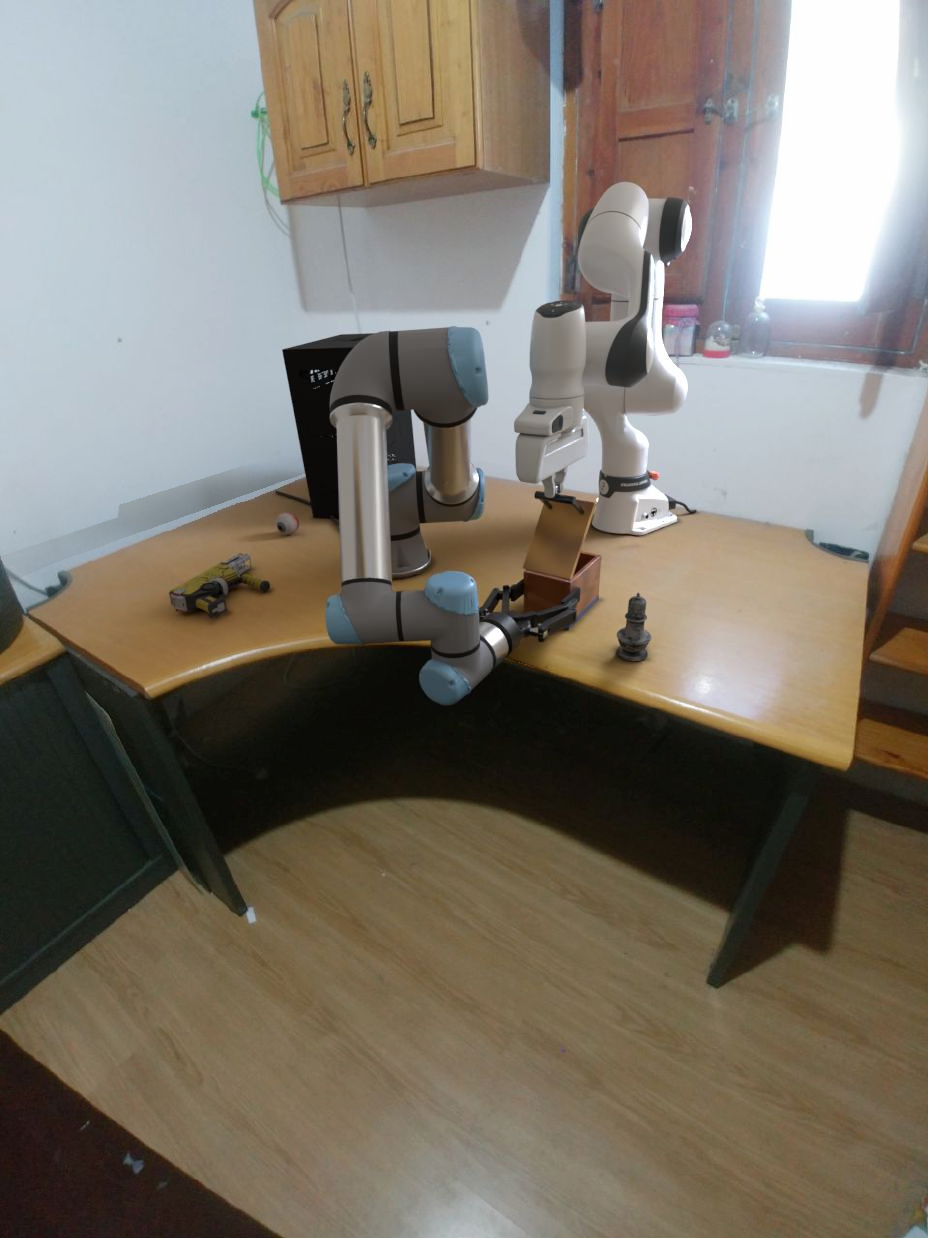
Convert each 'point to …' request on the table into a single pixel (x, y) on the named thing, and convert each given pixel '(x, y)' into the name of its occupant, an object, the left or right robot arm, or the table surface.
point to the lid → (559, 535)
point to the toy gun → (214, 587)
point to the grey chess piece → (634, 631)
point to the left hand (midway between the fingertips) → (553, 587)
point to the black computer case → (315, 418)
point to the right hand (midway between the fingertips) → (553, 494)
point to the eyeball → (287, 523)
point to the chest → (564, 587)
